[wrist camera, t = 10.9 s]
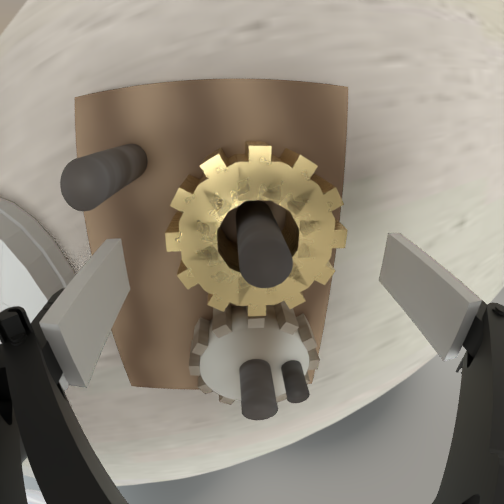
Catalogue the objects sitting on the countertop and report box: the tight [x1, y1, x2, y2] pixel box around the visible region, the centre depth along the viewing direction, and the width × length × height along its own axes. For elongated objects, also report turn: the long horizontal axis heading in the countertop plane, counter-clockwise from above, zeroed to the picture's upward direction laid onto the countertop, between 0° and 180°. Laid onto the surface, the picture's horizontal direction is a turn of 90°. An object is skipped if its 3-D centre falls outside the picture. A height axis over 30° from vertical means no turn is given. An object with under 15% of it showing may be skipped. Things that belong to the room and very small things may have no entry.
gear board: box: [60, 79, 348, 420], centre depth 19 cm, size 18×26×9 cm
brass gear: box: [165, 141, 347, 316], centre depth 18 cm, size 10×10×4 cm
